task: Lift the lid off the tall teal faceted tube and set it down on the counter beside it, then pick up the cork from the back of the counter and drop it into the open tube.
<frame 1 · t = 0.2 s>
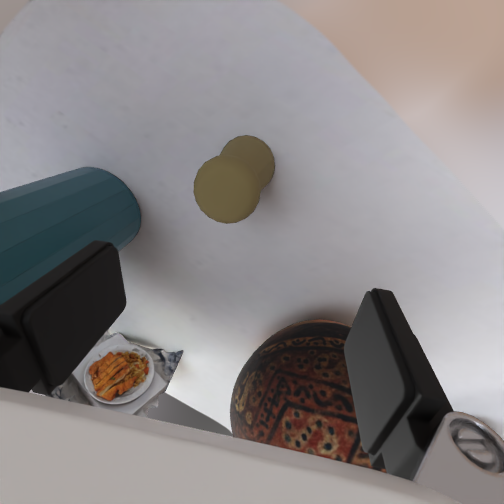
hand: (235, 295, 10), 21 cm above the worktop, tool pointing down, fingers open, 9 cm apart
ceramic vessel: (309, 340, 40), on the worktop
cork: (247, 165, 29), on the worktop
teal faceted tube: (101, 208, 34), on the worktop
meal: (141, 338, 46), on the worktop
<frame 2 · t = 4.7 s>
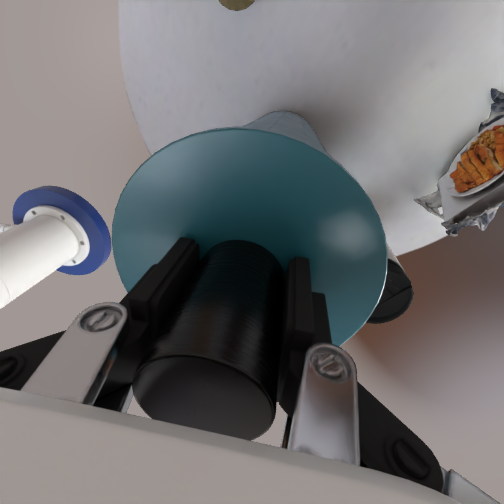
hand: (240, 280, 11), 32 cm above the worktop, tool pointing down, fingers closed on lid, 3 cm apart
lid: (243, 269, 12), point 31 cm above the worktop, touching gripper, teal faceted tube
teal faceted tube: (280, 151, 39), on the worktop
meal: (454, 153, 36), on the worktop
travel mug: (345, 220, 43), on the worktop
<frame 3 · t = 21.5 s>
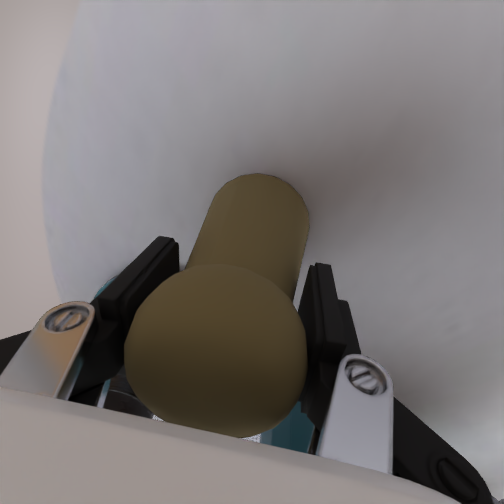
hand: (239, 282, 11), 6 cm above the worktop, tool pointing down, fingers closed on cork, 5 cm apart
lid: (166, 331, 21), point 1 cm above the worktop
cork: (258, 223, 16), on the worktop, touching gripper
teal faceted tube: (320, 418, 24), on the worktop
when the fingers open (35 cm above the worktop, at t = 29.7 s): cork drops 28 cm, resting on teal faceted tube.
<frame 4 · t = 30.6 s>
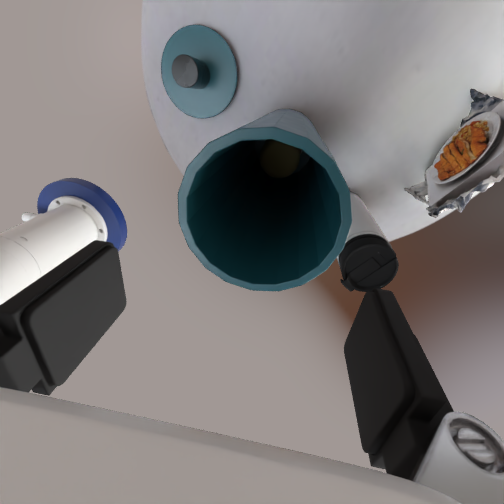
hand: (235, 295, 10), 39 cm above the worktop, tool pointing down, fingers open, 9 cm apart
lid: (199, 75, 40), point 1 cm above the worktop
cork: (283, 146, 43), resting on teal faceted tube
teal faceted tube: (284, 145, 43), on the worktop
meal: (440, 146, 40), on the worktop
travel mug: (343, 209, 47), on the worktop
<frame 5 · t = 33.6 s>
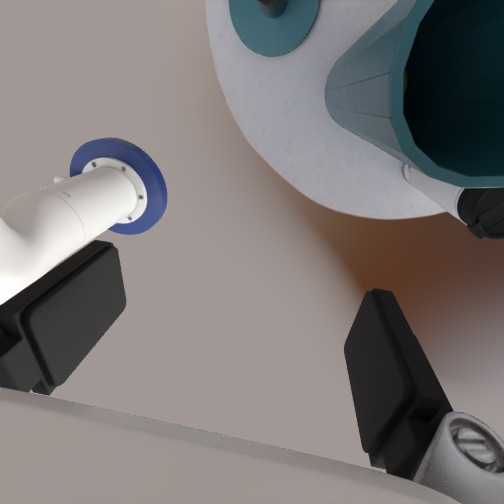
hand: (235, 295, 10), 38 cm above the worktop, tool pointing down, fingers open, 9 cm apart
lid: (273, 1, 34), point 1 cm above the worktop
teal faceted tube: (362, 89, 38), on the worktop
travel mug: (422, 165, 42), on the worktop
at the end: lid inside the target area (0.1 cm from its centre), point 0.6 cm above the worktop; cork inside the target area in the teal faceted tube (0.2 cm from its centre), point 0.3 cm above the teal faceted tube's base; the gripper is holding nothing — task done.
